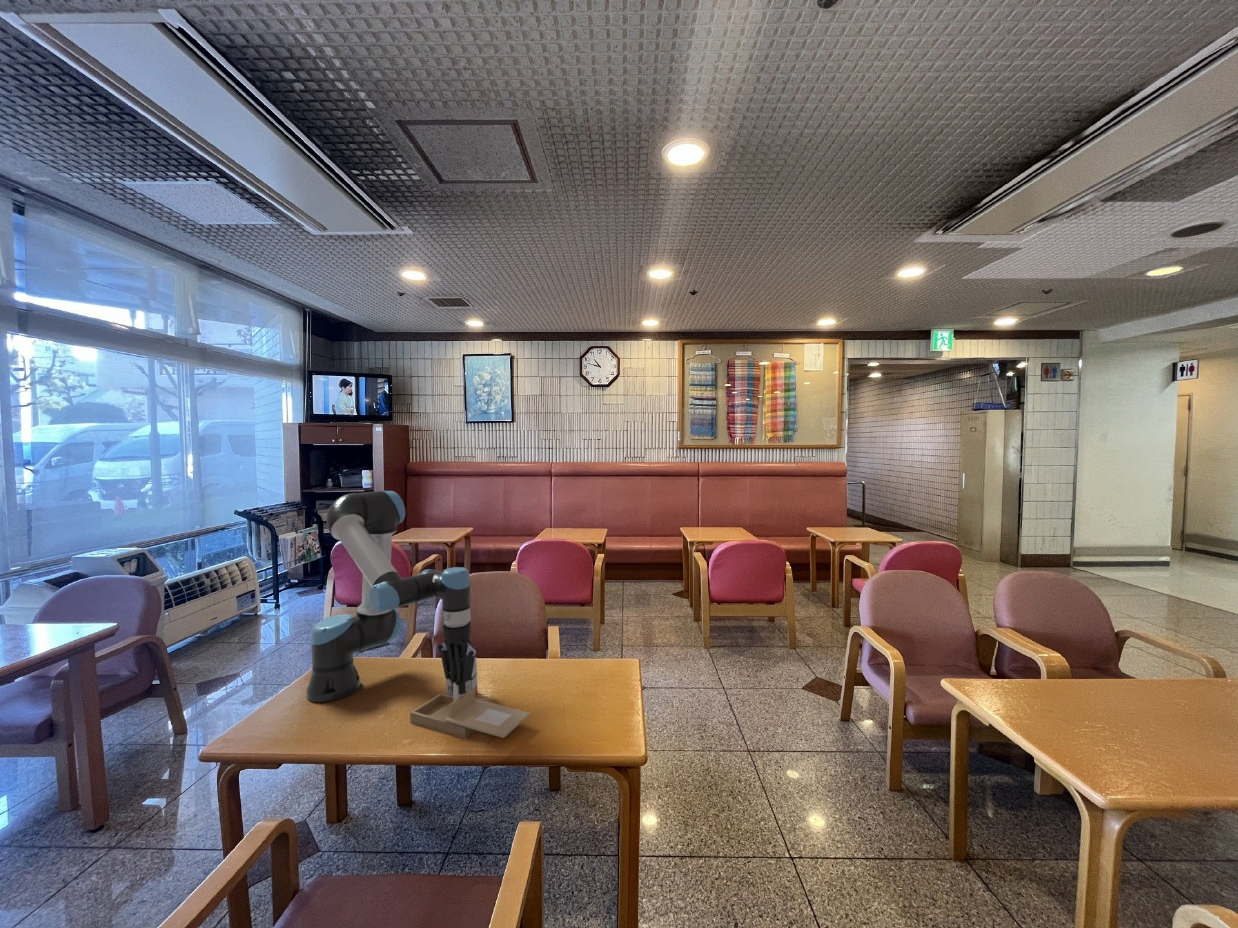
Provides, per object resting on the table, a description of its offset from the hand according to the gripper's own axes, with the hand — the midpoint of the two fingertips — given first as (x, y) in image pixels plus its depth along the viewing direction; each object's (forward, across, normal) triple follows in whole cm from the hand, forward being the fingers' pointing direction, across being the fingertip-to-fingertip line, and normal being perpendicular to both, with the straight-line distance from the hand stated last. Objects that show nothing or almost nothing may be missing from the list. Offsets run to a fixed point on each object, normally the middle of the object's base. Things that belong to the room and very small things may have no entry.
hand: (458, 703), depth 142 cm
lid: (+2, +10, 0) cm, 10 cm away
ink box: (+5, -10, +12) cm, 16 cm away
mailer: (+5, -3, 0) cm, 6 cm away
